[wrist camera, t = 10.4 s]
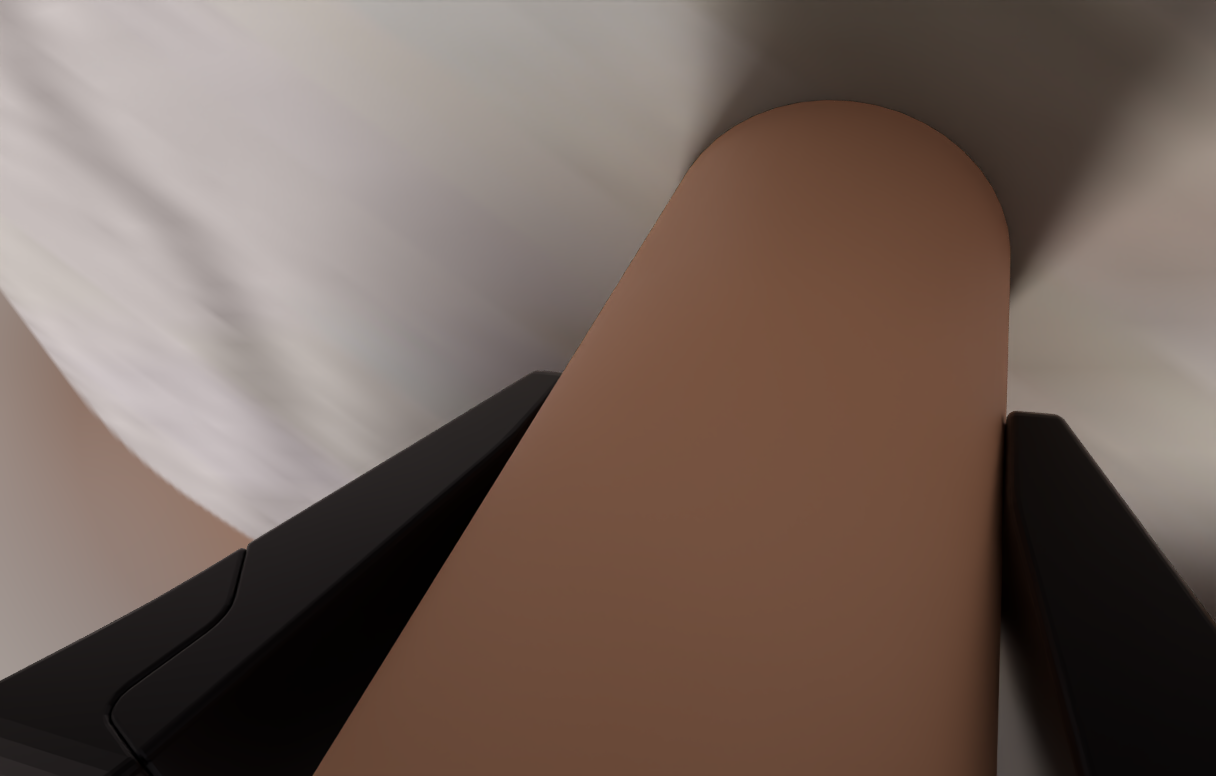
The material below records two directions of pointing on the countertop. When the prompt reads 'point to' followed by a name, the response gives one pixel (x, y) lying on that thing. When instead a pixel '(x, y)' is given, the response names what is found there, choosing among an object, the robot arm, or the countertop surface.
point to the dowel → (744, 493)
